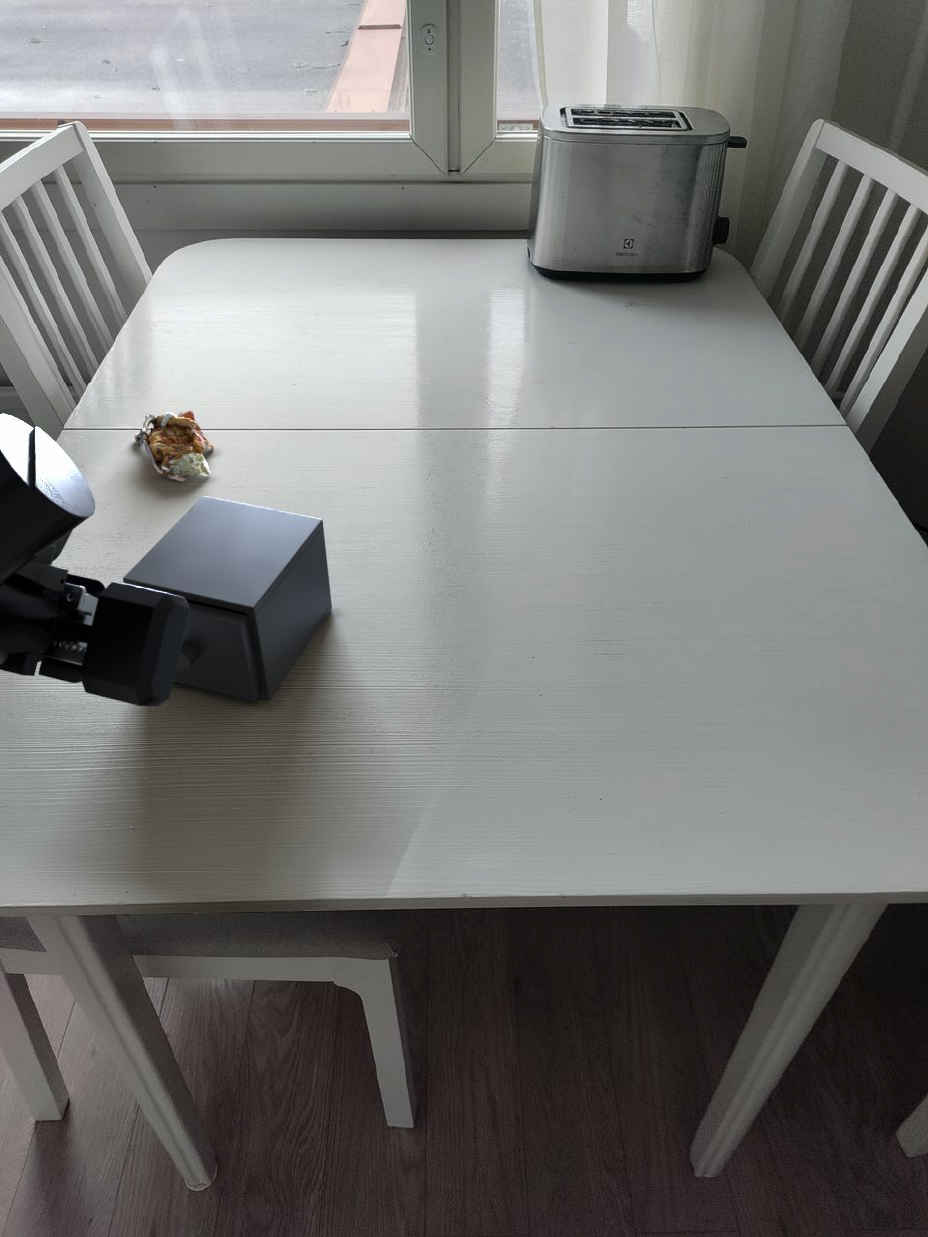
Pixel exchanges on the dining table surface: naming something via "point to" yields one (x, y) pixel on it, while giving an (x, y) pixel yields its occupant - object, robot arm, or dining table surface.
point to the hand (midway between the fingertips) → (108, 631)
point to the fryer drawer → (218, 652)
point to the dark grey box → (248, 575)
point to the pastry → (175, 445)
